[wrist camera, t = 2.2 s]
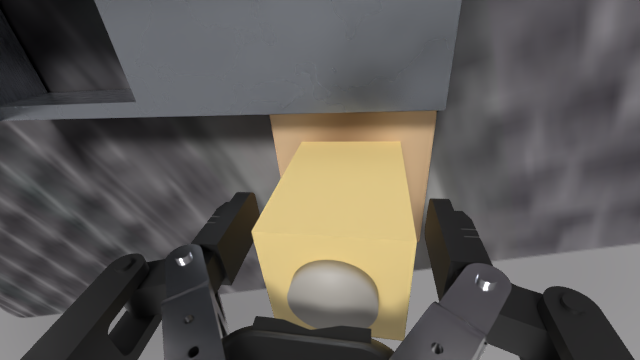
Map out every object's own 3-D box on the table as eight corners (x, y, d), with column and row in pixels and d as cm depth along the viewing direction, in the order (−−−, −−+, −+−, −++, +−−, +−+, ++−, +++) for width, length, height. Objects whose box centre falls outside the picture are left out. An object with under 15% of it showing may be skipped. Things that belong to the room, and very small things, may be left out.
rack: (466, -179, 9) (614, -490, 3) (432, 91, 14) (473, 154, 8) (-70, -71, 14) (-395, -126, 8) (35, 105, 18) (-124, 151, 13)
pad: (431, 101, 14) (436, 110, 13) (416, 225, 18) (419, 241, 17) (278, 105, 16) (269, 114, 14) (296, 219, 20) (290, 234, 18)
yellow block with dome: (400, 141, 14) (419, 257, 7) (394, 221, 16) (405, 357, 10) (301, 141, 15) (243, 245, 8) (310, 217, 17) (271, 339, 11)
